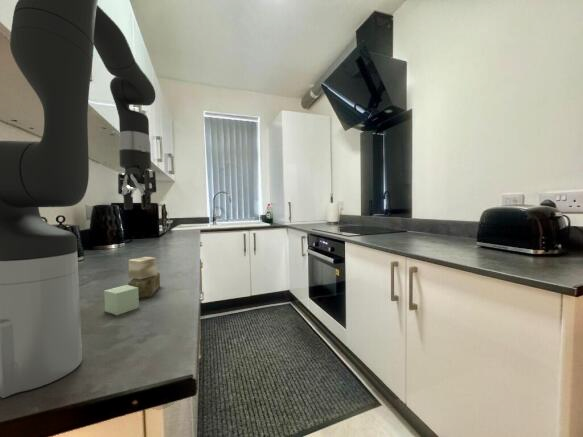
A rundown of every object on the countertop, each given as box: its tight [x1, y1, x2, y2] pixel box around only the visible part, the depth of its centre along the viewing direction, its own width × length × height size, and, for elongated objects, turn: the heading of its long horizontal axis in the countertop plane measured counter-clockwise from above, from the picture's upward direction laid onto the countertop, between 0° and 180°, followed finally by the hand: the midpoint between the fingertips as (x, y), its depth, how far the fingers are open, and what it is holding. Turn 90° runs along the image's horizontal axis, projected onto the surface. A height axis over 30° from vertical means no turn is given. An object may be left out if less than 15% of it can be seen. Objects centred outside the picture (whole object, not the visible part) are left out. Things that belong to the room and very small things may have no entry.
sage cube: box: [103, 284, 140, 316], centre depth 61 cm, size 5×5×5 cm
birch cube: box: [128, 256, 158, 280], centre depth 74 cm, size 5×5×5 cm
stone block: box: [127, 272, 161, 299], centre depth 74 cm, size 6×12×5 cm, turn 16°
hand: (137, 209), depth 72 cm, fingers open, 8 cm apart
